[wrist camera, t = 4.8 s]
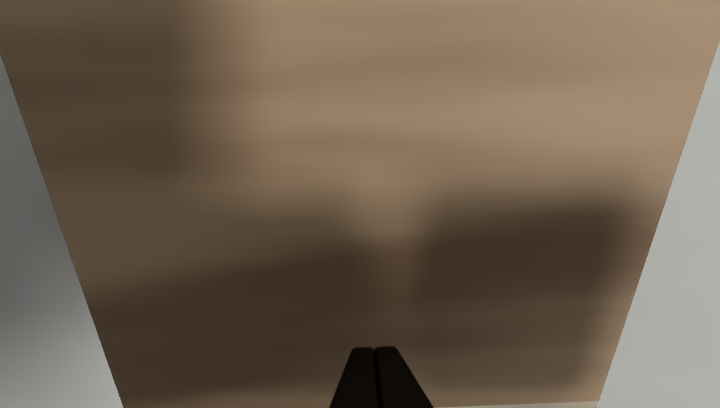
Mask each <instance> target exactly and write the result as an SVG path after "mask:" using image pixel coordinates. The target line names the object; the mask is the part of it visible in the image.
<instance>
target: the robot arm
mask: <svg viewBox="0 0 720 408" xmlns="http://www.w3.org/2000/svg"><path fill="white" fill-rule="evenodd" d="M329 408H434V407H433V405H432V404H431V402H430V401H429V399H428V397H427V396H426V394H425V392H424V391H423V389H422V388H421V386H420V384H419V383H418V381H417V380H416V378H415V376H414V375H413V373H412V371H411V370H410V368H409V367H408V365H407V363H406V362H405V360H404V359H403V357H402V355H401V354H400V352H399V351H398V349H397V348H396V347H394V346H378V347H376V348H375V349H373V348H372V347H355V348H353V349H352V350H351V352H350V355H349V357H348V360H347V363H346V365H345V368H344V370H343V373H342V375H341V378H340V381H339V383H338V386H337V388H336V391H335V393H334V396H333V399H332V401H331V404H330V406H329Z"/></svg>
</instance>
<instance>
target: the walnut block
mask: <svg viewBox="0 0 720 408" xmlns="http://www.w3.org/2000/svg"><path fill="white" fill-rule="evenodd" d="M719 40H720V0H0V54H1V57H2V60H3V62H4V65H5V68H6V71H7V74H8V77H9V80H10V83H11V85H12V88H13V91H14V94H15V97H16V100H17V103H18V106H19V108H20V111H21V114H22V117H23V120H24V123H25V126H26V129H27V131H28V134H29V137H30V140H31V143H32V146H33V149H34V152H35V154H36V157H37V160H38V163H39V166H40V169H41V172H42V175H43V177H44V180H45V183H46V186H47V189H48V192H49V195H50V198H51V200H52V203H53V206H54V209H55V212H56V215H57V218H58V221H59V224H60V226H61V229H62V232H63V235H64V238H65V241H66V244H67V247H68V249H69V252H70V255H71V258H72V261H73V264H74V267H75V270H76V272H77V275H78V278H79V281H80V284H81V287H82V290H83V293H84V295H85V298H86V301H87V304H88V307H89V310H90V313H91V316H92V318H93V321H94V324H95V327H96V330H97V333H98V336H99V339H100V341H101V344H102V347H103V350H104V353H105V356H106V359H107V362H108V364H109V367H110V370H111V373H112V376H113V379H114V382H115V385H116V387H117V390H118V393H119V396H120V399H121V402H122V405H123V408H329V406H330V404H331V401H332V399H333V396H334V393H335V391H336V388H337V386H338V383H339V381H340V378H341V375H342V373H343V370H344V368H345V365H346V363H347V360H348V357H349V355H350V352H351V350H352V349H353V348H355V347H372V348H373V349H375V348H376V347H378V346H394V347H396V348H397V349H398V351H399V352H400V354H401V355H402V357H403V359H404V360H405V362H406V363H407V365H408V367H409V368H410V370H411V371H412V373H413V375H414V376H415V378H416V380H417V381H418V383H419V384H420V386H421V388H422V389H423V391H424V392H425V394H426V396H427V397H428V399H429V401H430V402H431V404H432V405H433V407H434V408H596V407H597V404H598V401H599V398H600V395H601V392H602V389H603V386H604V383H605V380H606V377H607V374H608V371H609V368H610V365H611V362H612V359H613V356H614V354H615V351H616V348H617V345H618V342H619V339H620V336H621V333H622V330H623V327H624V324H625V321H626V318H627V315H628V312H629V309H630V306H631V303H632V300H633V297H634V294H635V291H636V288H637V285H638V282H639V279H640V276H641V273H642V270H643V267H644V264H645V261H646V258H647V255H648V252H649V249H650V246H651V243H652V240H653V237H654V234H655V231H656V228H657V225H658V222H659V219H660V216H661V213H662V210H663V207H664V204H665V201H666V198H667V195H668V192H669V189H670V186H671V183H672V180H673V177H674V174H675V172H676V169H677V166H678V163H679V160H680V157H681V154H682V151H683V148H684V145H685V142H686V139H687V136H688V133H689V130H690V127H691V124H692V121H693V118H694V115H695V112H696V109H697V106H698V103H699V100H700V97H701V94H702V91H703V88H704V85H705V82H706V79H707V76H708V73H709V70H710V67H711V64H712V61H713V58H714V55H715V52H716V49H717V46H718V43H719Z"/></svg>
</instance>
